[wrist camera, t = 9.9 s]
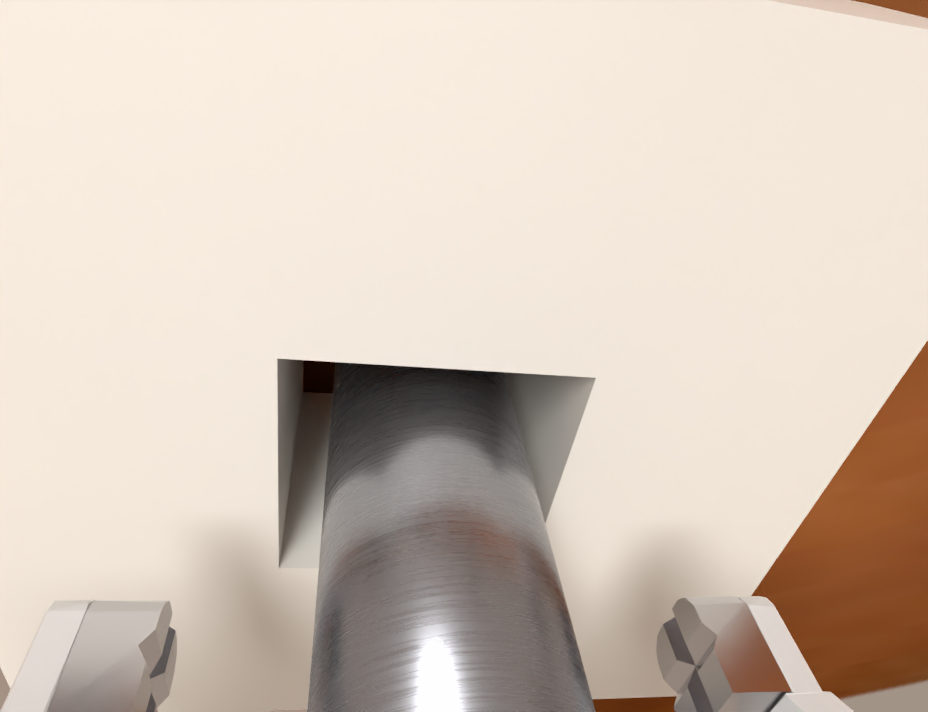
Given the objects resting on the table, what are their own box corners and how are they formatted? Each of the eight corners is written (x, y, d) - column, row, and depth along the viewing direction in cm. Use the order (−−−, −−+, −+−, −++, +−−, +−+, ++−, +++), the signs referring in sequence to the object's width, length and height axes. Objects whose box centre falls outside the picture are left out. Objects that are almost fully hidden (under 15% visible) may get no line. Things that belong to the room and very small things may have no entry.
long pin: (498, 258, 17) (748, 1006, 6) (472, 378, 19) (614, 1080, 8) (343, 243, 16) (274, 1068, 5) (335, 370, 18) (276, 1134, 7)
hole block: (864, 3, 14) (1117, 64, 9) (620, 535, 24) (681, 696, 20) (-65, -173, 11) (-414, -217, 6) (104, 529, 21) (25, 720, 16)
